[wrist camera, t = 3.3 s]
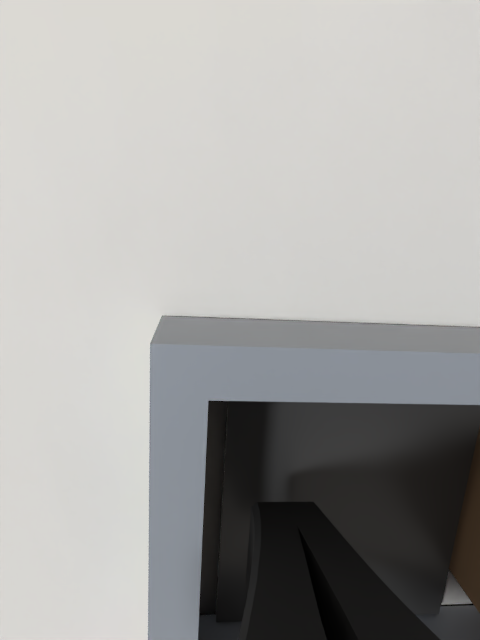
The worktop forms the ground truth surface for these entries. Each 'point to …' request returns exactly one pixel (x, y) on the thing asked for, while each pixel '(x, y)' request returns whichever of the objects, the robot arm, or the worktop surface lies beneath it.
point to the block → (469, 535)
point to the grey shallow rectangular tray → (311, 454)
